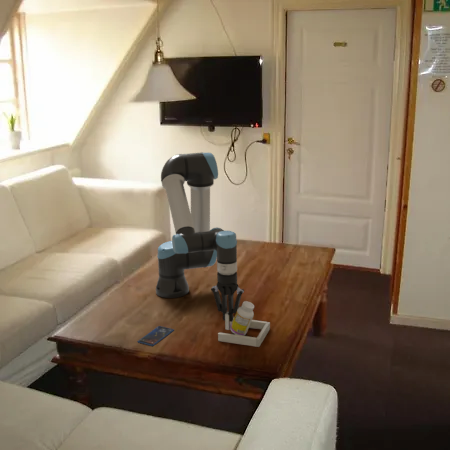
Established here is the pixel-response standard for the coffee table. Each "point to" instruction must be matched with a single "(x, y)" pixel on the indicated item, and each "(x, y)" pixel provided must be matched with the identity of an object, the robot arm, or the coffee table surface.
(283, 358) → the coffee table surface
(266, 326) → the corral
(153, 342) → the smartphone
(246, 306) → the supplement bottle
